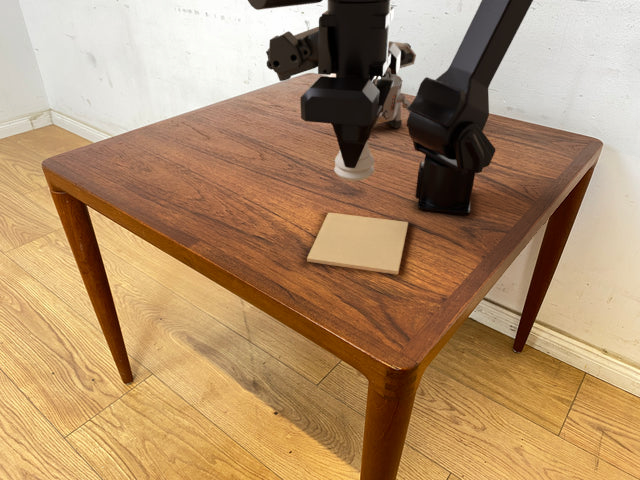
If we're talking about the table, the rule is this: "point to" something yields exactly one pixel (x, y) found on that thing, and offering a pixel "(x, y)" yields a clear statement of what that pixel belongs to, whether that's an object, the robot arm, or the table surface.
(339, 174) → the rook chess piece
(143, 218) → the table surface
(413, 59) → the figurine
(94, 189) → the table surface
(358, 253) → the cork mat
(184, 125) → the table surface
